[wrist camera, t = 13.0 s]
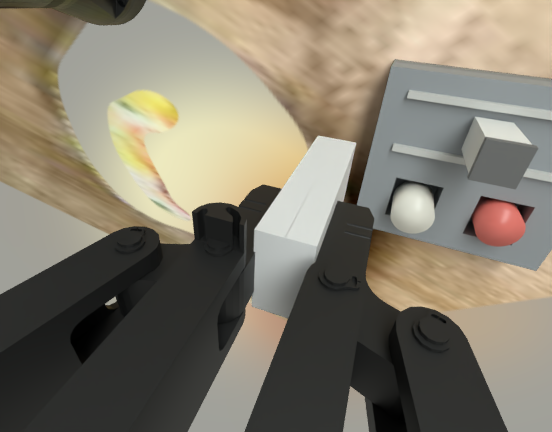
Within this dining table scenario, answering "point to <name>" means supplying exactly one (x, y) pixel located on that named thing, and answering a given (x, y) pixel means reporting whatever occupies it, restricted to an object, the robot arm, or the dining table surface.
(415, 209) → the button cream
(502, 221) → the button red
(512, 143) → the slider knob
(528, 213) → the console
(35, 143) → the dining table surface
